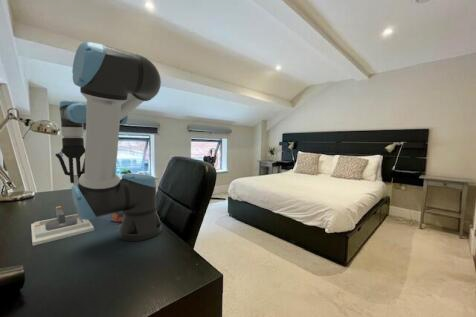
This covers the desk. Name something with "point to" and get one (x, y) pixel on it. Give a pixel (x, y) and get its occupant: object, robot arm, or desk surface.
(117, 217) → the mug
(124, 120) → the robot arm
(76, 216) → the panel
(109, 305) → the desk surface
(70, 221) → the dial
